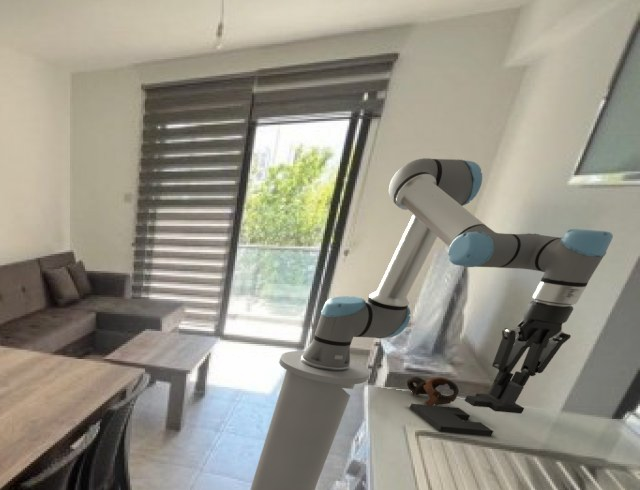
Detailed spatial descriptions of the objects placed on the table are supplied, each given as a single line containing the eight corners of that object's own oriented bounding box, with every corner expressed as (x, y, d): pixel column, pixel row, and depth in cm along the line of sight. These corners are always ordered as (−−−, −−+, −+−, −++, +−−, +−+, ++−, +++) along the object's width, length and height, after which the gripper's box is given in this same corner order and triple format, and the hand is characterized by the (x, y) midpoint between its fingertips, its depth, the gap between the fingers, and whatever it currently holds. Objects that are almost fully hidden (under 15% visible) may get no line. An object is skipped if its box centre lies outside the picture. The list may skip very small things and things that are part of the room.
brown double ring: (447, 401, 139) (467, 383, 132) (436, 422, 136) (455, 406, 129) (404, 381, 144) (421, 363, 136) (392, 401, 140) (408, 384, 133)
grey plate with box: (458, 397, 126) (470, 374, 123) (498, 400, 125) (511, 377, 122) (478, 409, 119) (491, 385, 116) (521, 413, 118) (535, 389, 115)
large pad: (409, 408, 132) (411, 403, 131) (456, 412, 131) (458, 407, 130) (439, 431, 120) (441, 426, 119) (491, 436, 119) (494, 431, 118)
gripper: (527, 304, 107) (478, 400, 118) (604, 309, 105) (547, 406, 116) (504, 297, 114) (459, 388, 125) (575, 301, 112) (524, 394, 123)
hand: (501, 396), depth 120 cm, fingers closed on grey plate with box, 2 cm apart
